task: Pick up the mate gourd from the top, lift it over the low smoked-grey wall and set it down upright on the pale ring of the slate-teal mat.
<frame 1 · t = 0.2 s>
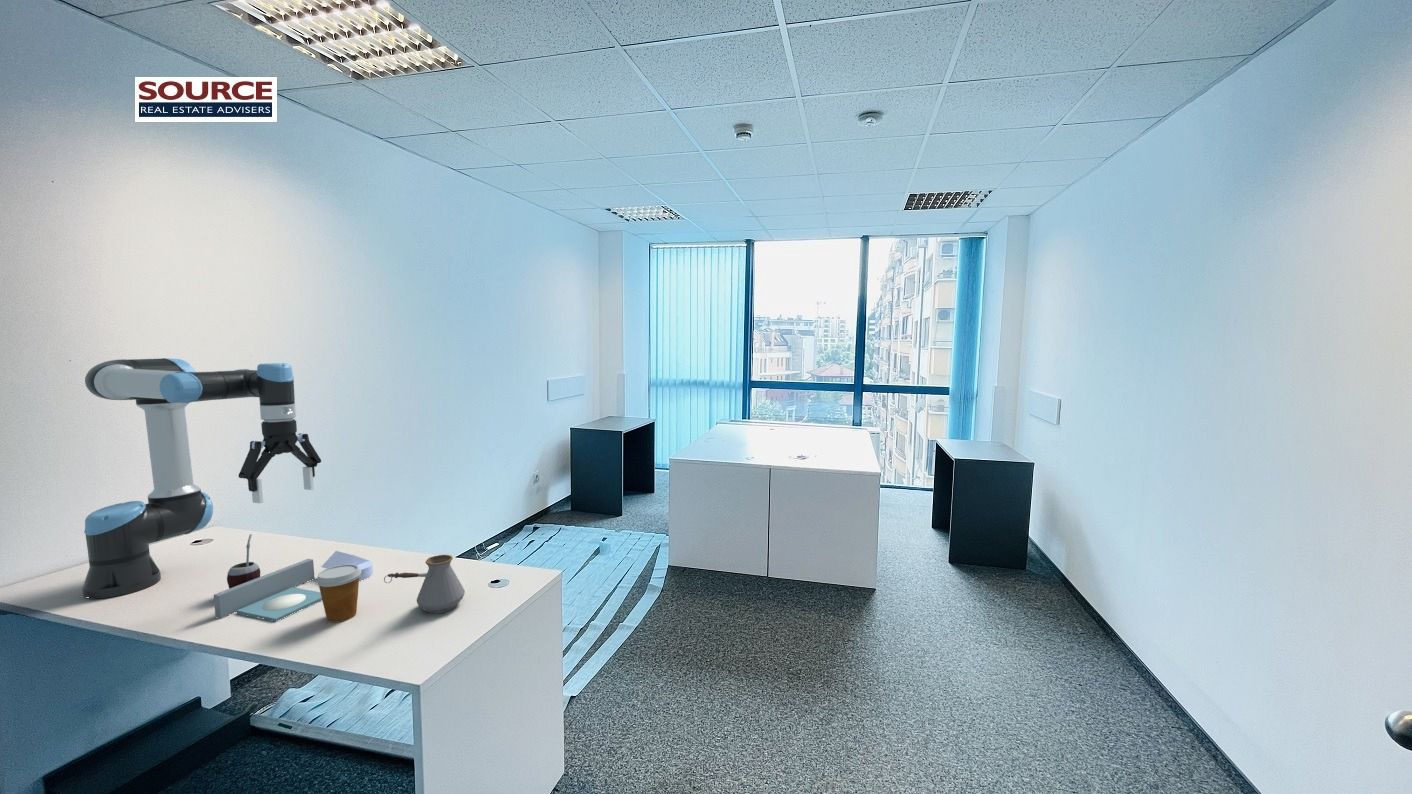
hand: (284, 495, 149), 27 cm above the table, tool pointing down, fingers open, 13 cm apart
wedge on round base: (351, 576, 161), on the table
mate gourd: (245, 593, 150), on the table
coffee pot: (426, 615, 138), on the table
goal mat: (285, 604, 143), on the table
disposable coffee cup: (341, 616, 137), on the table
low wall: (268, 596, 148), on the table
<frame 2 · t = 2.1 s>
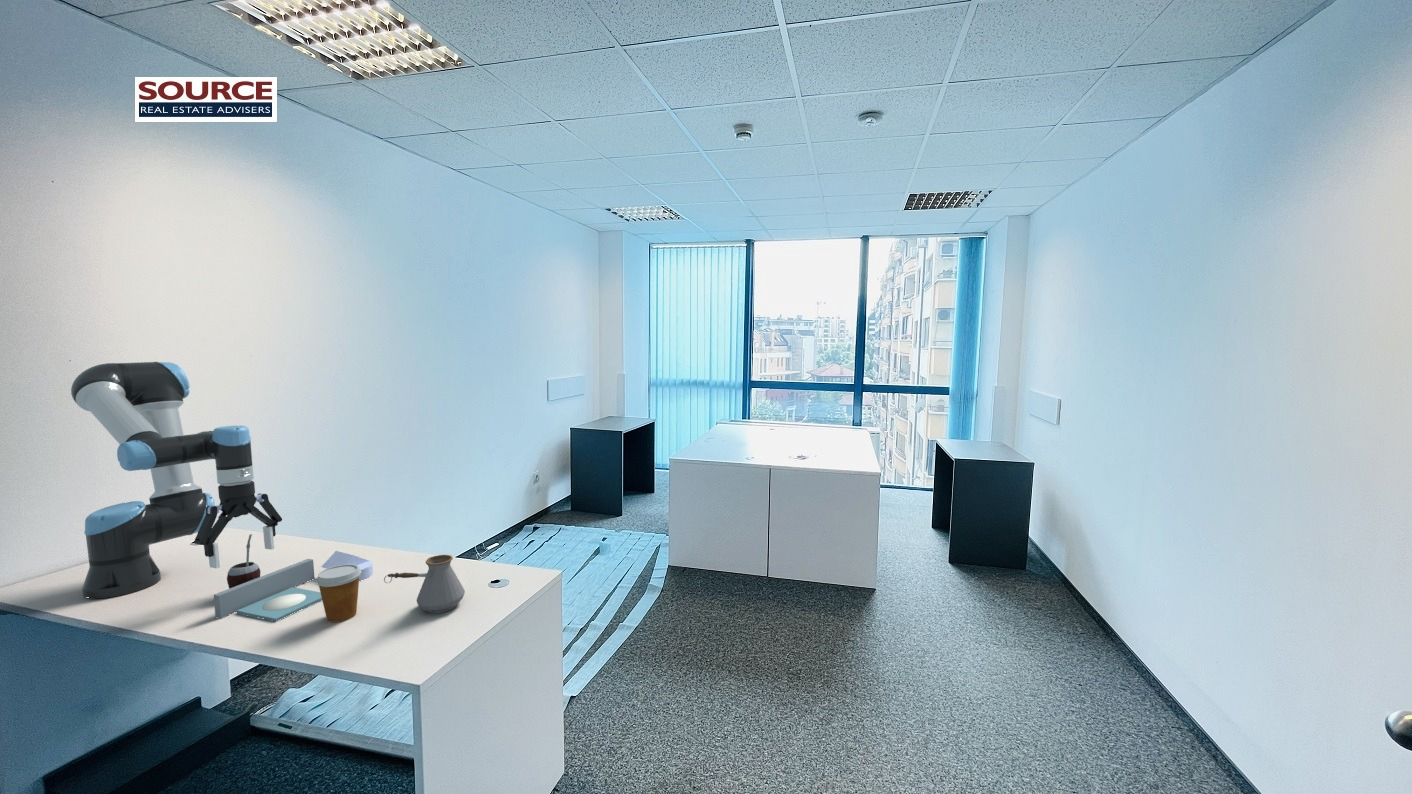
hand: (243, 557, 149), 10 cm above the table, tool pointing down, fingers open, 13 cm apart
nothing on the table moved.
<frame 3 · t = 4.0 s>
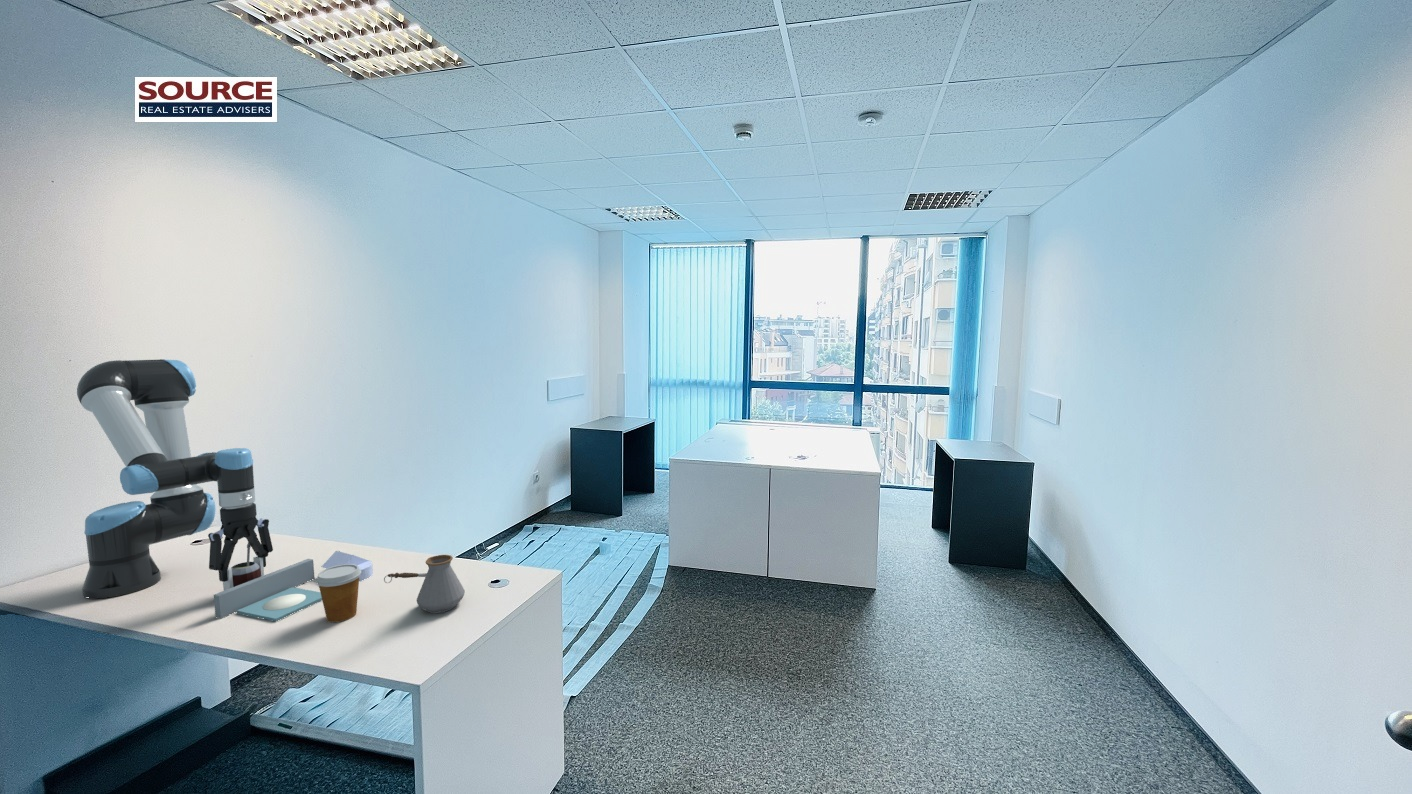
hand: (244, 585, 150), 2 cm above the table, tool pointing down, fingers closed on mate gourd, 7 cm apart
mate gourd: (246, 592, 150), on the table, touching gripper
everything else where it was.
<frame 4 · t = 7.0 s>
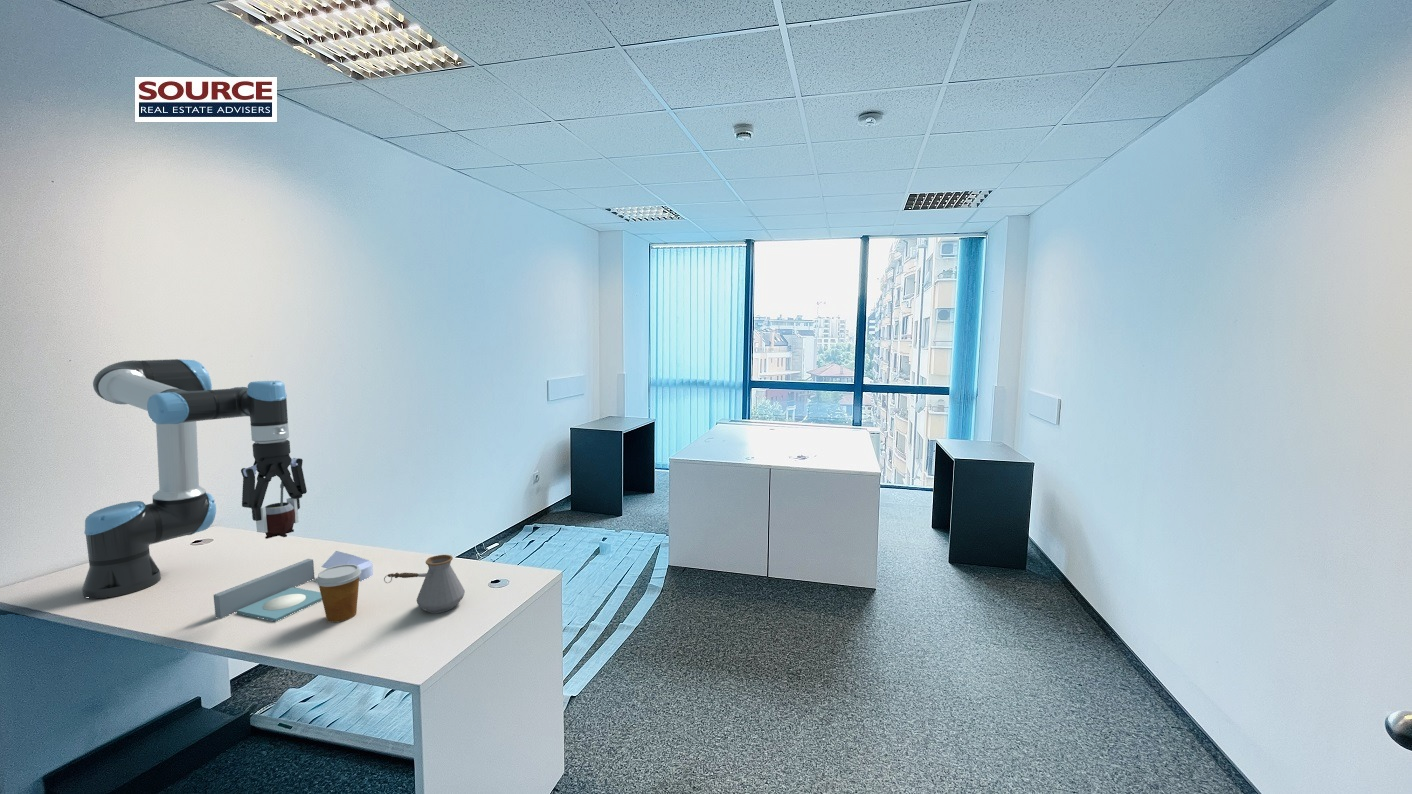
hand: (278, 526, 141), 21 cm above the table, tool pointing down, fingers closed on mate gourd, 7 cm apart
mate gourd: (280, 535, 142), point 19 cm above the table, touching gripper
everything else where it was.
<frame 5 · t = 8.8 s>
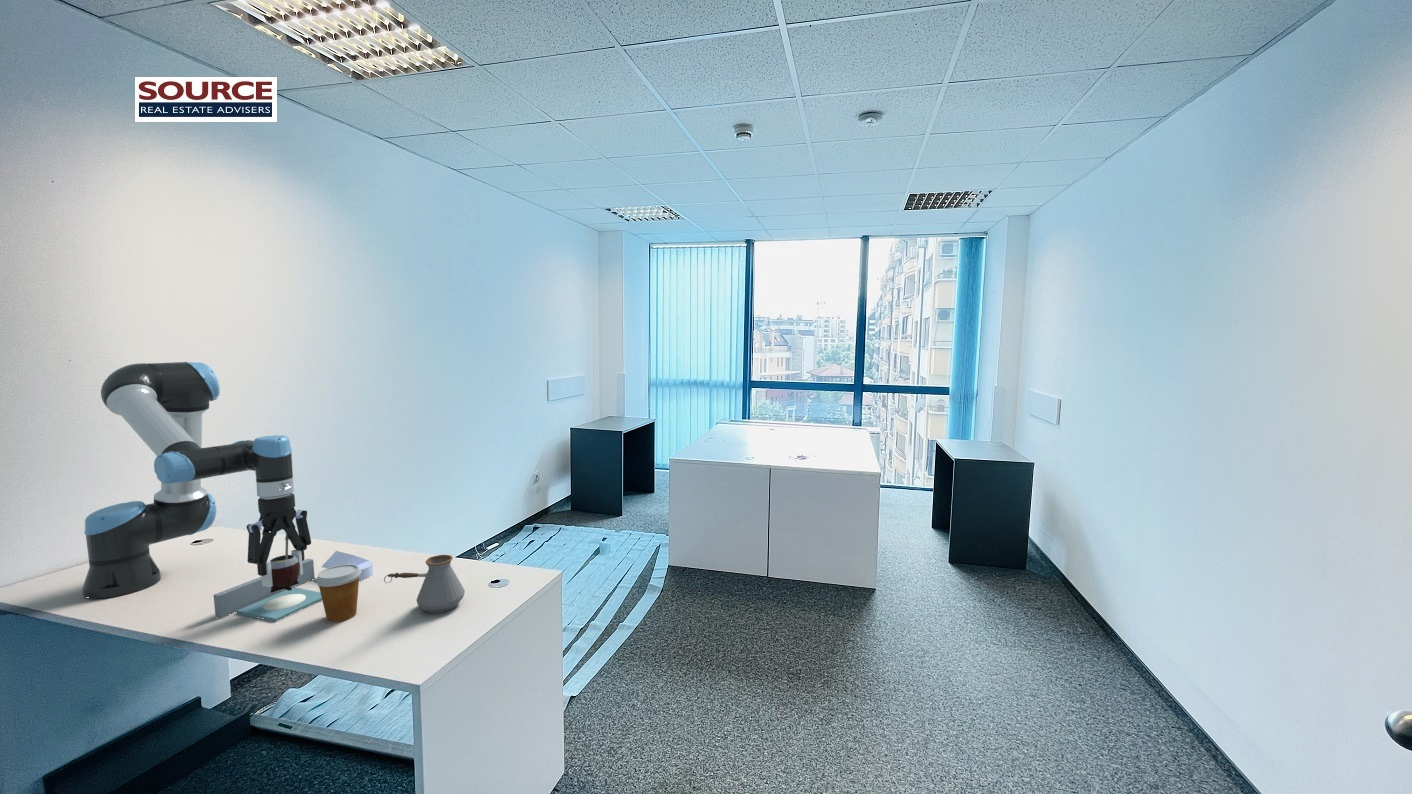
hand: (283, 579, 142), 7 cm above the table, tool pointing down, fingers closed on mate gourd, 7 cm apart
mate gourd: (285, 587, 143), point 5 cm above the table, touching gripper
everything else where it was.
when the fingers open (4 cm above the table, at t = 10.1 s): mate gourd stays where it is, resting on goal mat.
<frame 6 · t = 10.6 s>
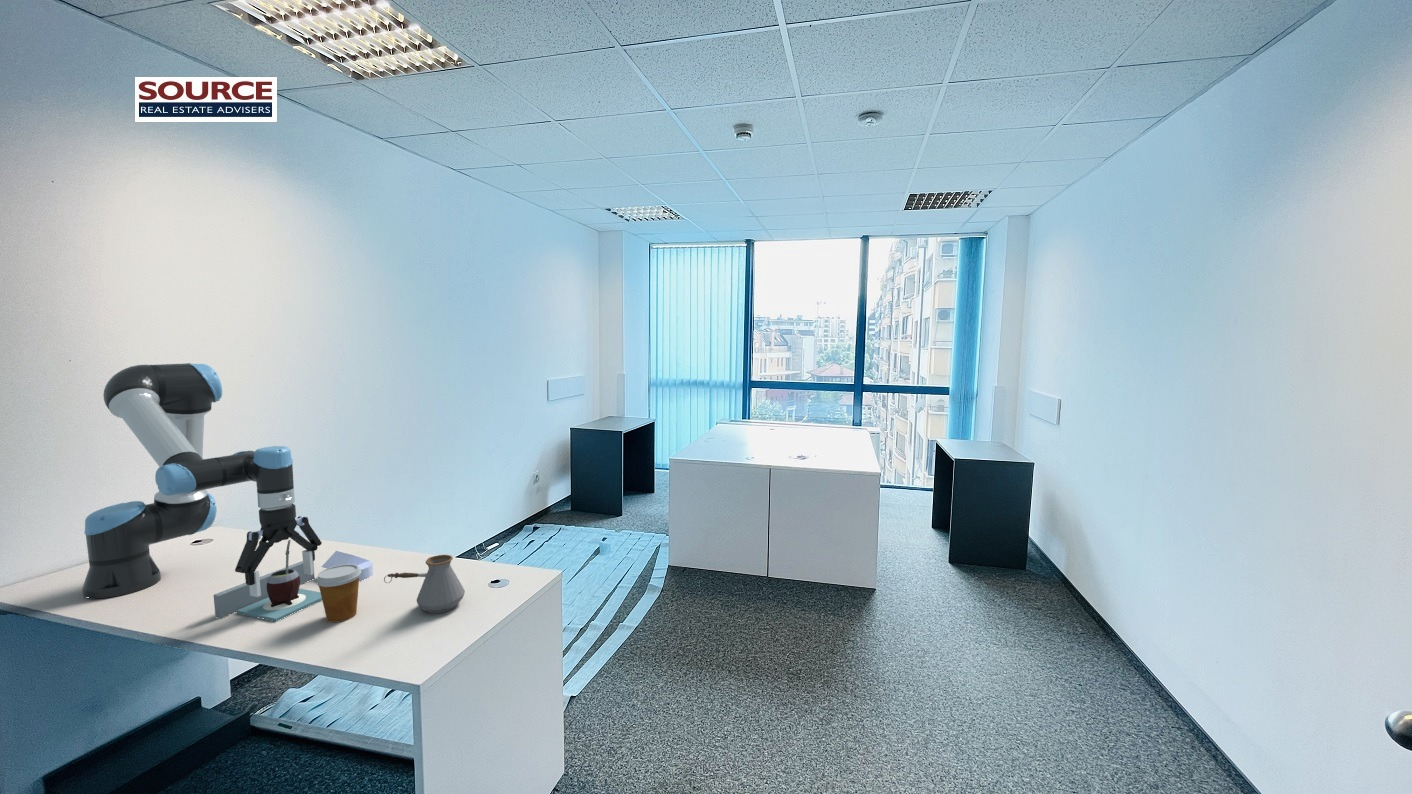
hand: (283, 584, 142), 6 cm above the table, tool pointing down, fingers open, 13 cm apart
mate gourd: (285, 602, 143), point 1 cm above the table, touching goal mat
everything else where it was.
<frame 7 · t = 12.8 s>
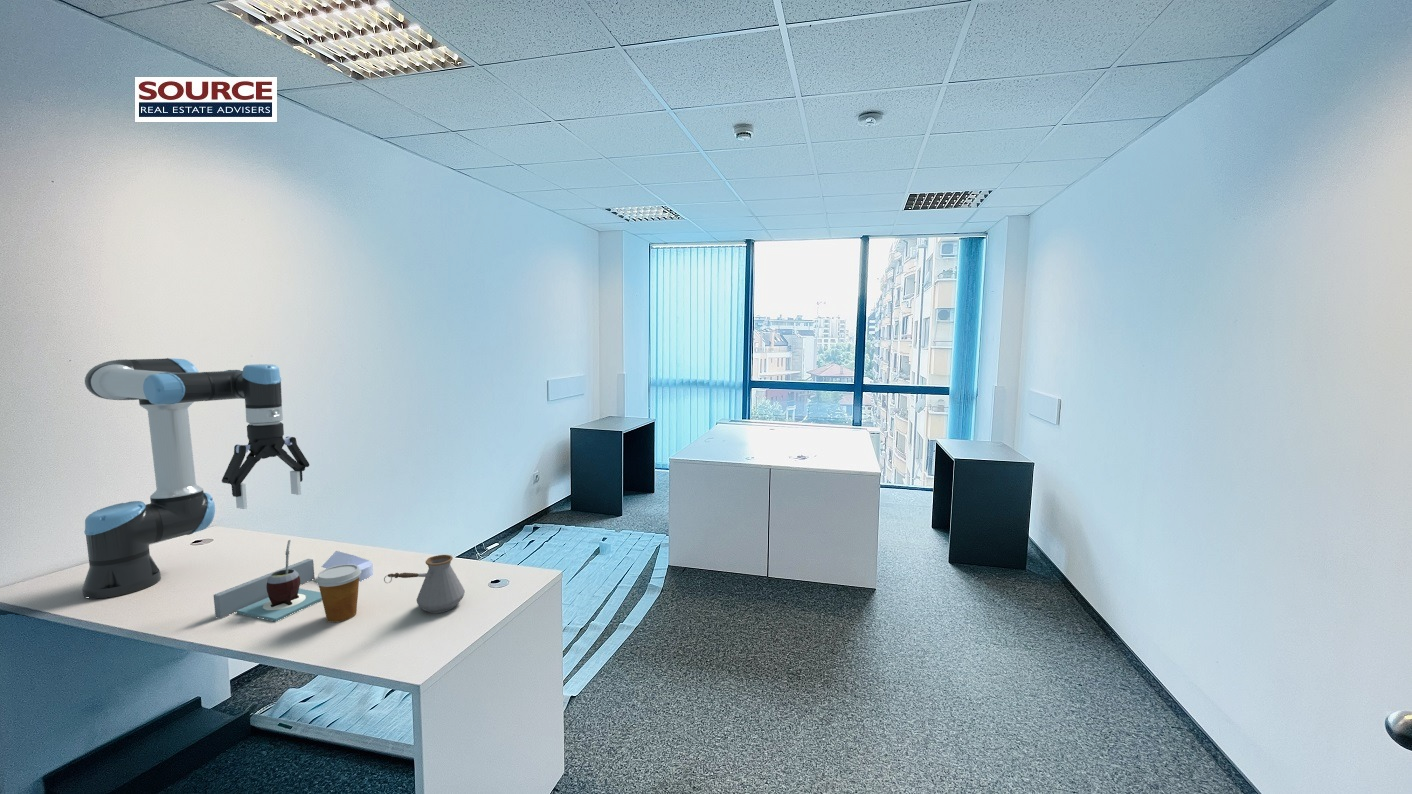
hand: (270, 500, 145), 27 cm above the table, tool pointing down, fingers open, 13 cm apart
nothing on the table moved.
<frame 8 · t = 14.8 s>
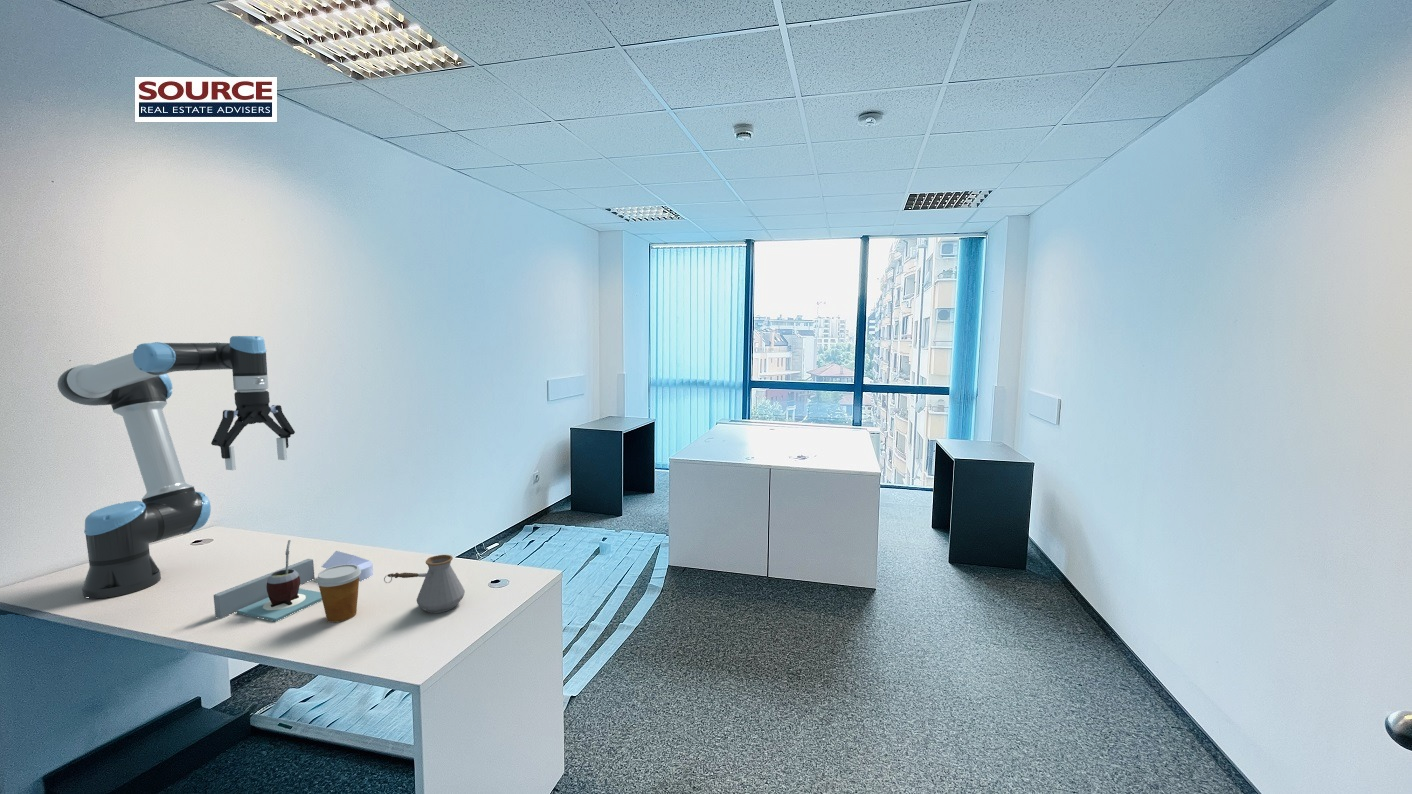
hand: (257, 464, 154), 35 cm above the table, tool pointing down, fingers open, 13 cm apart
nothing on the table moved.
at the end: mate gourd inside the target area on the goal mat (0.2 cm from its centre), point 0.7 cm above the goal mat's base; mate gourd tilted 0°; the gripper is holding nothing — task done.
